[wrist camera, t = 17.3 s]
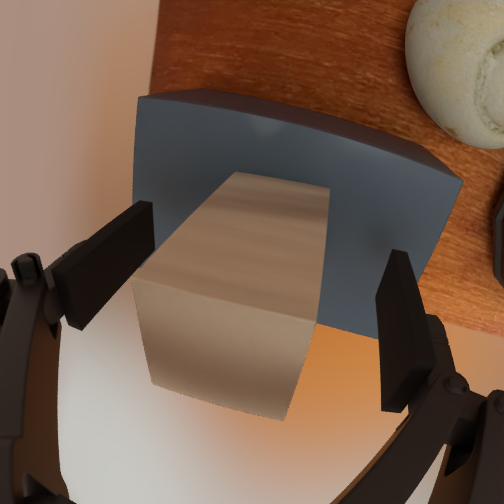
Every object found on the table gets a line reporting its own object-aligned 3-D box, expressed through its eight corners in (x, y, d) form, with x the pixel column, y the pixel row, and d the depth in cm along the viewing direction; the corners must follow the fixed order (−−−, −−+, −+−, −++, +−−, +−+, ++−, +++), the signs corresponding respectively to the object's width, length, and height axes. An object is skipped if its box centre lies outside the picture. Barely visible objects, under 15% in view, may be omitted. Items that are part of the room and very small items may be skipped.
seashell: (573, 152, 11) (463, 171, 14) (513, 138, 19) (415, 154, 21) (520, -34, 7) (392, -50, 10) (472, -5, 15) (367, -4, 17)
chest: (378, 261, 27) (387, 324, 20) (185, 206, 29) (138, 250, 22) (422, 145, 21) (458, 176, 14) (200, 88, 23) (145, 95, 16)
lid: (383, 332, 21) (383, 341, 20) (138, 260, 23) (133, 265, 22) (458, 176, 14) (463, 181, 14) (145, 95, 16) (137, 96, 16)
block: (235, 171, 17) (130, 277, 8) (330, 187, 16) (316, 322, 8) (229, 252, 19) (151, 384, 11) (313, 269, 19) (283, 422, 10)
